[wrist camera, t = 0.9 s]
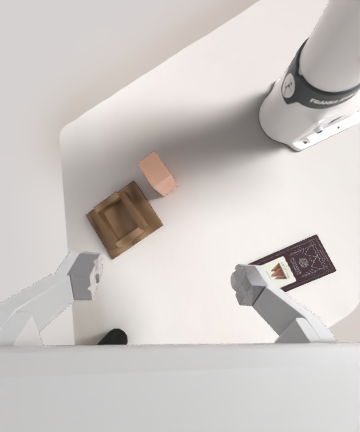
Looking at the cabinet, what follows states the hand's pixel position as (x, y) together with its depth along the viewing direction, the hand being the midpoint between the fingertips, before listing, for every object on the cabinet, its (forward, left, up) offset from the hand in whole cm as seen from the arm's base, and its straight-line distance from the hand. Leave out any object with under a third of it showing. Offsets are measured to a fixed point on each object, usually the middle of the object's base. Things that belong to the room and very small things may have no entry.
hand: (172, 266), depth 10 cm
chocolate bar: (-20, +13, -34) cm, 41 cm away
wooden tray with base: (+17, -8, -33) cm, 38 cm away
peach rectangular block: (+4, -15, -33) cm, 36 cm away
